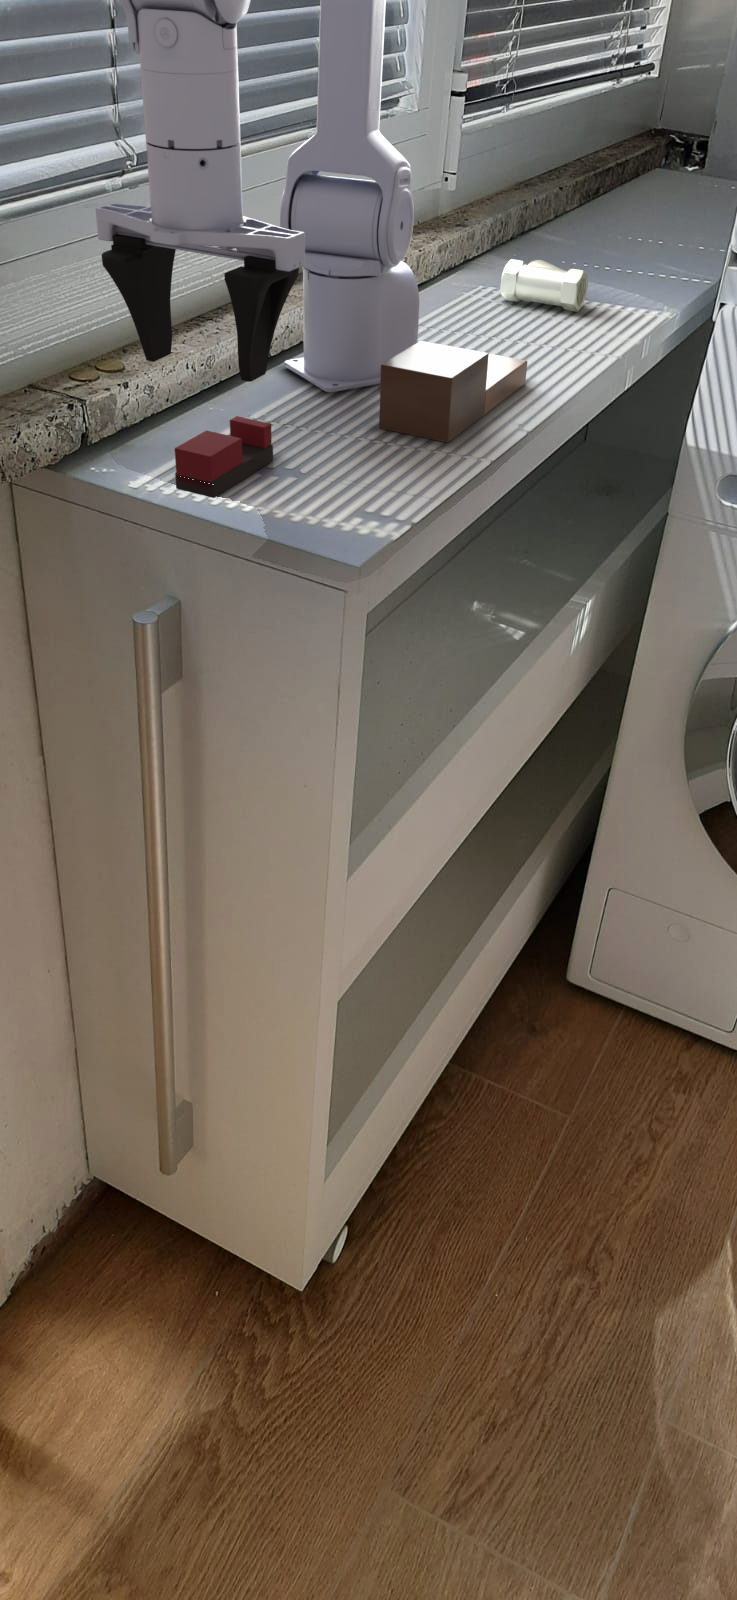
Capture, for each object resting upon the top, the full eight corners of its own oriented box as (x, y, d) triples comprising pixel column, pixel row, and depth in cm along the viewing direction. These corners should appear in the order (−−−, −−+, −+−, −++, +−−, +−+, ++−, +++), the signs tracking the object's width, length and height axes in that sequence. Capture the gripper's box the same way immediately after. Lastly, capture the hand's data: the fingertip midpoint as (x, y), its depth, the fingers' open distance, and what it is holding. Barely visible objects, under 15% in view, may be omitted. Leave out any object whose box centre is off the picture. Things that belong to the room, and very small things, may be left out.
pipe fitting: (523, 292, 133) (498, 302, 128) (527, 252, 131) (503, 261, 126) (594, 304, 130) (573, 314, 125) (601, 263, 128) (579, 272, 123)
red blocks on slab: (237, 452, 94) (235, 412, 93) (273, 460, 93) (272, 420, 92) (175, 488, 89) (172, 447, 87) (213, 498, 88) (211, 457, 86)
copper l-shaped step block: (462, 371, 111) (466, 313, 108) (525, 383, 108) (531, 324, 105) (378, 428, 99) (380, 364, 96) (447, 443, 97) (451, 378, 94)
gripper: (56, 138, 76) (81, 364, 84) (260, 166, 71) (266, 404, 79) (126, 122, 81) (143, 337, 89) (322, 147, 76) (321, 372, 84)
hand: (205, 367), depth 85 cm, fingers open, 7 cm apart
